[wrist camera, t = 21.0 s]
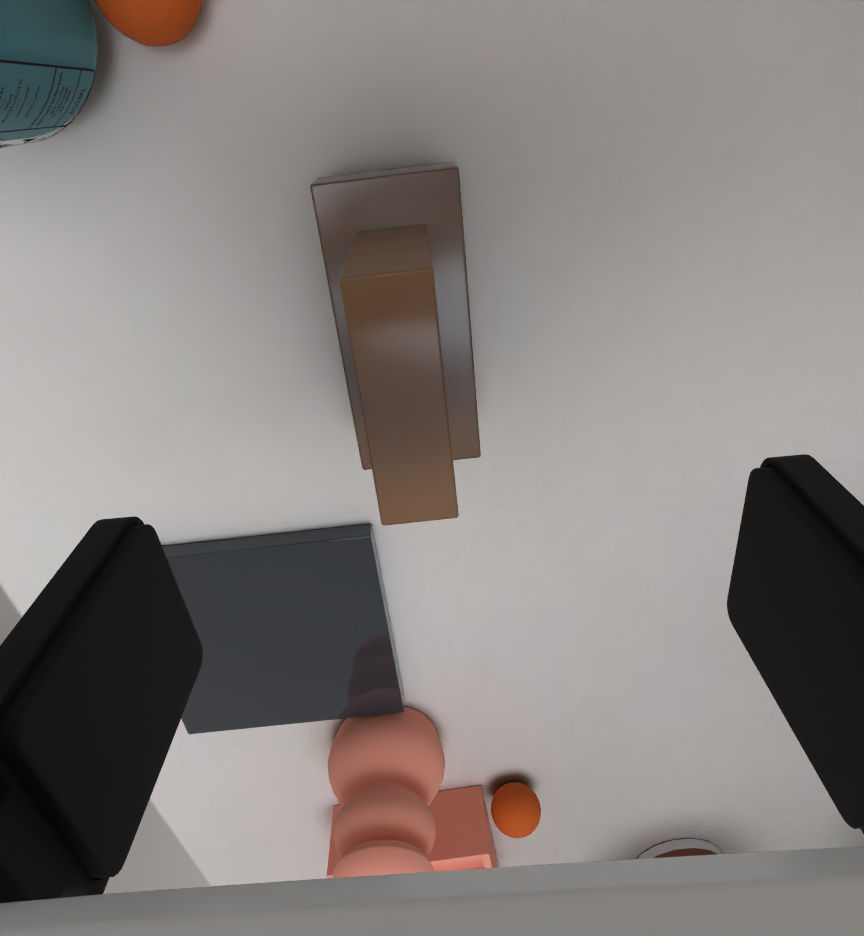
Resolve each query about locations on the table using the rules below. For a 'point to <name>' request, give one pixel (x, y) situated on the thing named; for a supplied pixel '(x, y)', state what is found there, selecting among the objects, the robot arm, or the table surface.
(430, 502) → the brush
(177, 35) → the felt ball
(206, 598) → the slate tile
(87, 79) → the beverage bottle
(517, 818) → the felt ball
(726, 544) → the table surface
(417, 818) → the pottery
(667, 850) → the coffee cup
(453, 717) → the table surface
